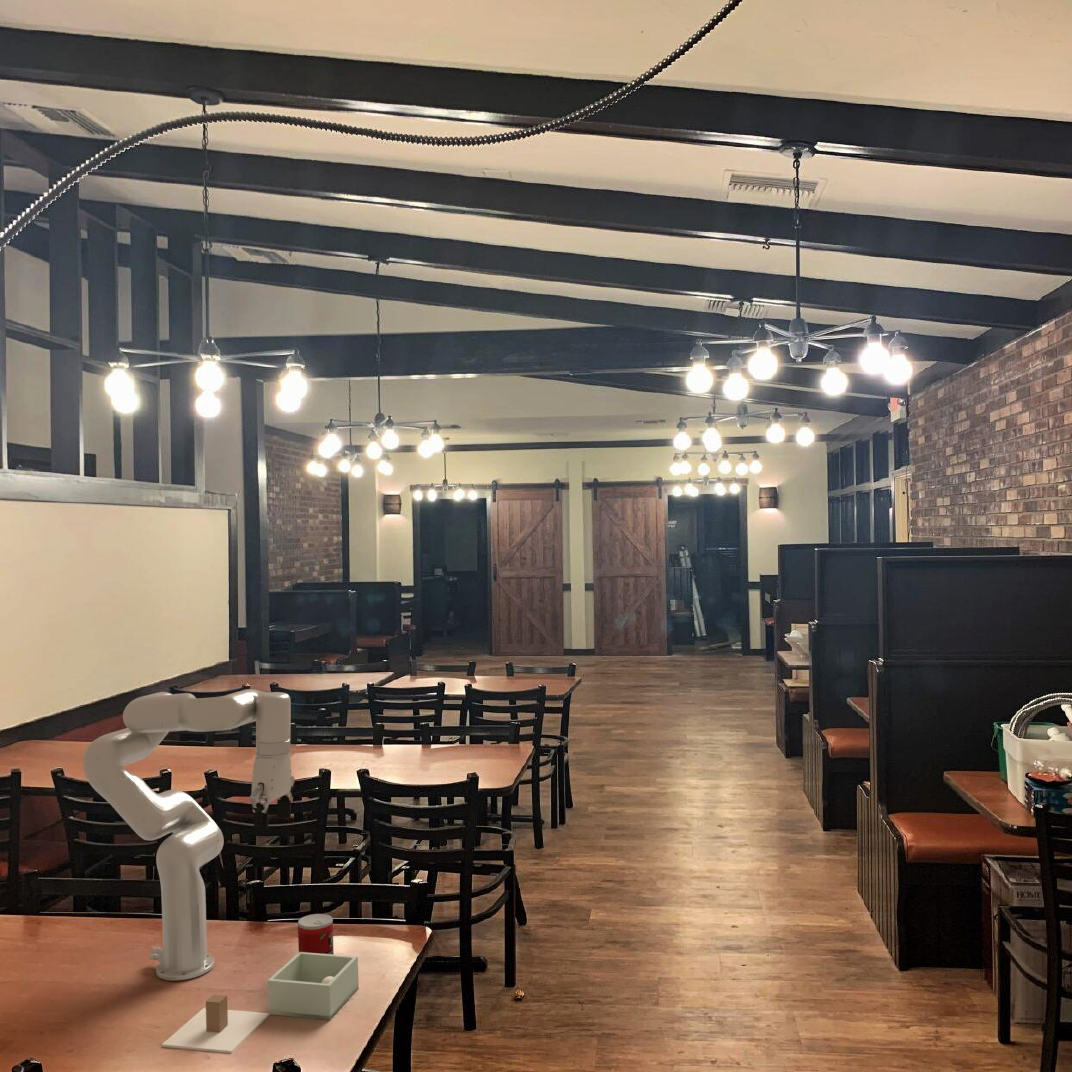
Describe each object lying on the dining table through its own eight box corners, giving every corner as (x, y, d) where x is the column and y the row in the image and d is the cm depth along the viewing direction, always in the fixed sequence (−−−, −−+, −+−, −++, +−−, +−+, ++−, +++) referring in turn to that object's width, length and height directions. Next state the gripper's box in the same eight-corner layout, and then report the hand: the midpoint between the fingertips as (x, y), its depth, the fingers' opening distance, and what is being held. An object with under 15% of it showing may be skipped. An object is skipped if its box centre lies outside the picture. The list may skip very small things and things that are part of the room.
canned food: (325, 976, 216) (324, 927, 216) (293, 974, 218) (291, 925, 218) (339, 961, 223) (338, 914, 224) (307, 959, 225) (306, 912, 225)
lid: (161, 1049, 187) (161, 1013, 187) (204, 1012, 202) (203, 979, 202) (231, 1056, 184) (231, 1019, 184) (269, 1018, 199) (268, 984, 199)
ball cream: (318, 997, 204) (317, 980, 204) (325, 989, 208) (325, 972, 208) (333, 998, 203) (333, 981, 203) (340, 990, 207) (340, 974, 207)
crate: (268, 1014, 199) (267, 980, 199) (300, 983, 213) (299, 951, 213) (330, 1020, 196) (329, 985, 196) (358, 988, 209) (357, 956, 209)
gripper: (278, 739, 226) (277, 811, 226) (237, 755, 209) (236, 833, 209) (307, 741, 224) (306, 814, 224) (267, 757, 207) (267, 836, 207)
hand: (272, 823), depth 217 cm, fingers open, 9 cm apart
